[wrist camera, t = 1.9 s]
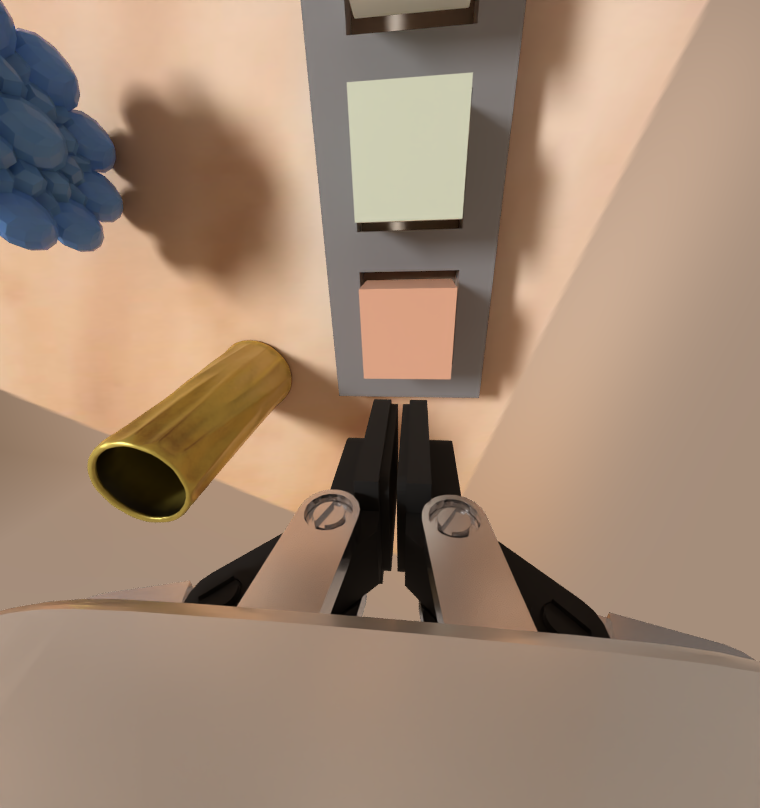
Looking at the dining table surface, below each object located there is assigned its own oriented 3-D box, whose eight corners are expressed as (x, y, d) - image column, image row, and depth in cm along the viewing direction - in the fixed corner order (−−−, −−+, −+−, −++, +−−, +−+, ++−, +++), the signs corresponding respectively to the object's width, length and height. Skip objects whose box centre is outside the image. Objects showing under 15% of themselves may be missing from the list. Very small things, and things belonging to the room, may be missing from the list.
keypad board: (289, -231, 15) (269, -302, 13) (548, -276, 14) (570, -362, 12) (344, 385, 29) (338, 397, 27) (474, 387, 28) (479, 399, 26)
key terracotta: (366, 280, 23) (358, 289, 19) (451, 278, 22) (457, 287, 19) (370, 359, 25) (363, 378, 22) (446, 359, 25) (450, 379, 22)
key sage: (358, 106, 18) (346, 82, 15) (462, 99, 18) (472, 72, 15) (363, 222, 21) (354, 222, 18) (455, 219, 20) (462, 218, 17)
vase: (300, 356, 28) (206, 462, 16) (283, 414, 31) (192, 543, 18) (229, 328, 28) (72, 414, 15) (218, 390, 30) (80, 506, 18)
